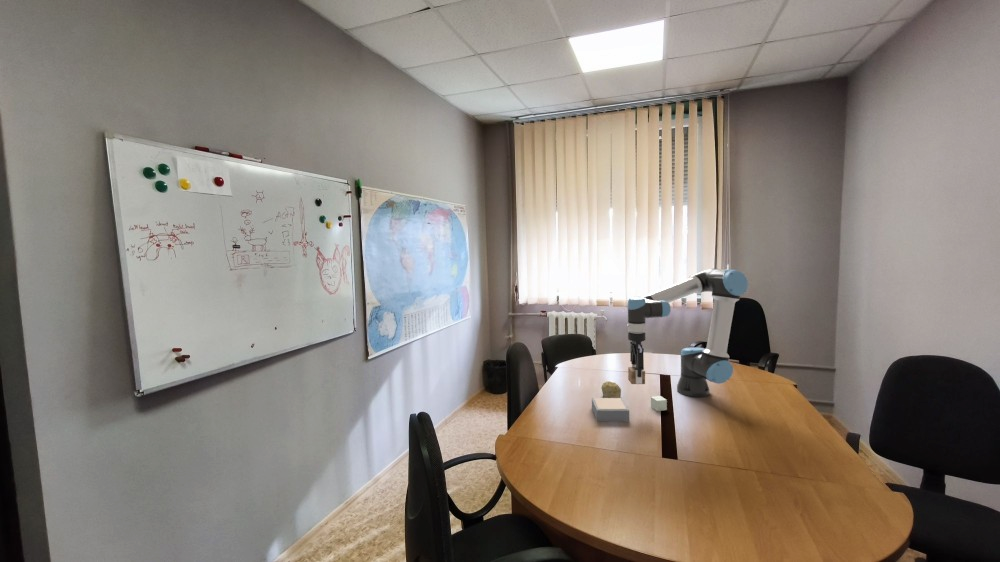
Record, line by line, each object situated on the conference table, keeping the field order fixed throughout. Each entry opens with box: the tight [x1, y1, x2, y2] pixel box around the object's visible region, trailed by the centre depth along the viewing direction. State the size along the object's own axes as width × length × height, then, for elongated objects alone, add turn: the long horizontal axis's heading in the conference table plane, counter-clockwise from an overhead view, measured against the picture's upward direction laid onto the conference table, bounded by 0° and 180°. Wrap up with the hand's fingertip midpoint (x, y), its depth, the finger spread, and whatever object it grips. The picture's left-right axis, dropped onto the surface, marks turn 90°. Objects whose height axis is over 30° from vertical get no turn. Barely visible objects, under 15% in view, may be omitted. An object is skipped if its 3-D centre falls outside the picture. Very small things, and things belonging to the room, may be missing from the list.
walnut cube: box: [627, 366, 646, 385], centre depth 179 cm, size 6×6×6 cm
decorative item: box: [600, 381, 622, 398], centre depth 198 cm, size 10×10×10 cm
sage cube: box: [650, 395, 668, 412], centre depth 182 cm, size 5×5×5 cm
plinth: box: [591, 397, 630, 422], centre depth 177 cm, size 14×14×5 cm
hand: (636, 380), depth 179 cm, fingers closed on walnut cube, 6 cm apart
